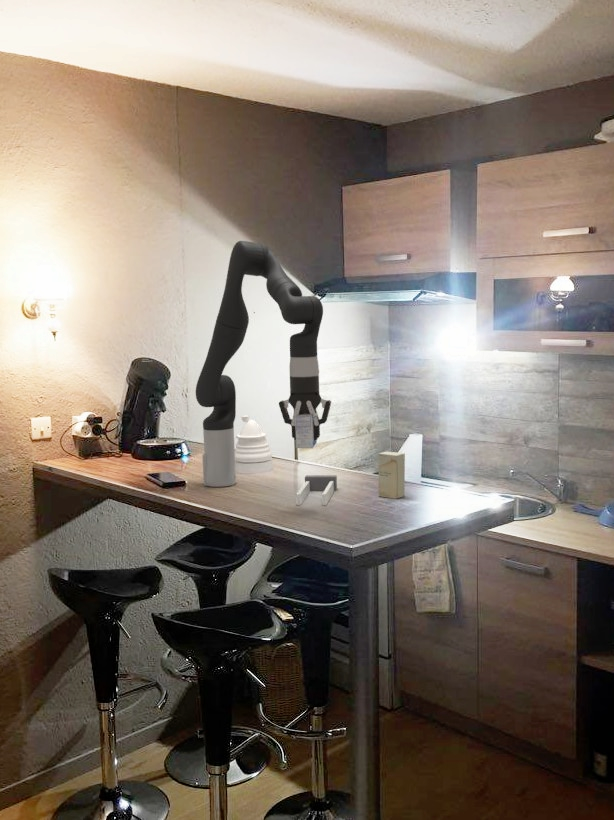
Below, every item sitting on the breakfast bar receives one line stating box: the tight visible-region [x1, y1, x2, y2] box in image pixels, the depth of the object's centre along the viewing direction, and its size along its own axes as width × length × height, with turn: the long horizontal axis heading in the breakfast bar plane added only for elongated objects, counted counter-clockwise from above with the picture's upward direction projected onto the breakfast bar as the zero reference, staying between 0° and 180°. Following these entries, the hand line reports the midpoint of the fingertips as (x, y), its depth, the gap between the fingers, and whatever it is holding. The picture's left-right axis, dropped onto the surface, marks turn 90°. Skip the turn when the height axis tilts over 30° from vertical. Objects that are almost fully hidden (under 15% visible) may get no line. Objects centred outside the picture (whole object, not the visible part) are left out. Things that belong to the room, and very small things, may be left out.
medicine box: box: [295, 413, 318, 449], centre depth 220 cm, size 8×4×9 cm, turn 172°
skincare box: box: [378, 451, 406, 500], centre depth 232 cm, size 6×4×12 cm
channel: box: [296, 474, 338, 506], centre depth 236 cm, size 9×20×4 cm, turn 171°
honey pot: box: [235, 415, 273, 475], centre depth 278 cm, size 13×13×18 cm
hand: (306, 439), depth 219 cm, fingers closed on medicine box, 4 cm apart
